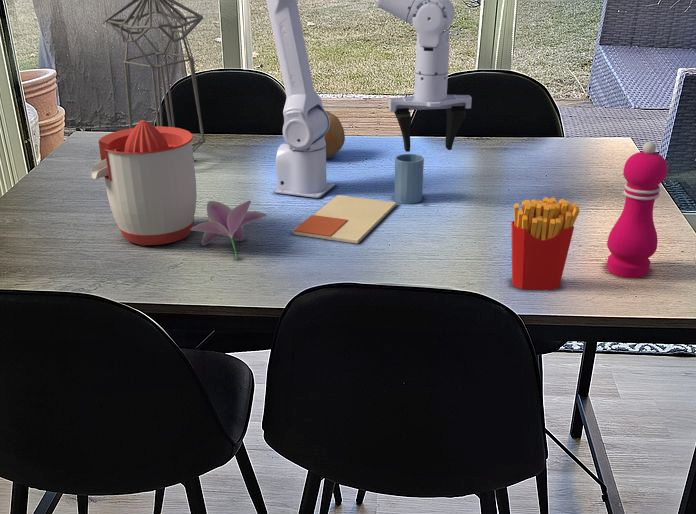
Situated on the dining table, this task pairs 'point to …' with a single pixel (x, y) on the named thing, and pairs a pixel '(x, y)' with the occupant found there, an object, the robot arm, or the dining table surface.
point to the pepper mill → (637, 215)
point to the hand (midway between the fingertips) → (427, 149)
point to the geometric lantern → (141, 6)
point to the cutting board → (345, 219)
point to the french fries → (541, 242)
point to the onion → (334, 136)
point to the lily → (226, 221)
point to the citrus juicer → (149, 182)
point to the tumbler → (408, 178)
